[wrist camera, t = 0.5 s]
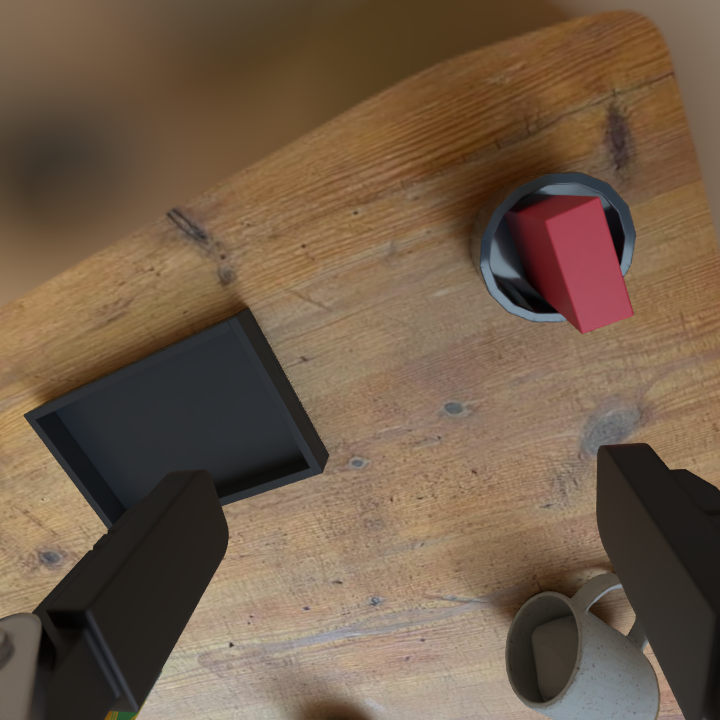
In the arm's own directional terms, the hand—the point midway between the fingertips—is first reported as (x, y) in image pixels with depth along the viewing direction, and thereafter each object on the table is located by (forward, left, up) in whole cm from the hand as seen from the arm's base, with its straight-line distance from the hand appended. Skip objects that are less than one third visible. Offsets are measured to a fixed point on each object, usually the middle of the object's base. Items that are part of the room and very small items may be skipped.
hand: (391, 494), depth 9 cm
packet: (-3, +7, -20) cm, 22 cm away
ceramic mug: (+26, +13, -21) cm, 36 cm away
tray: (+11, -18, -21) cm, 29 cm away
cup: (-3, +7, -21) cm, 22 cm away
